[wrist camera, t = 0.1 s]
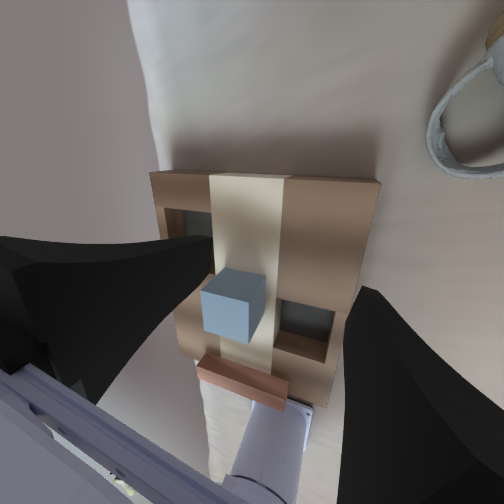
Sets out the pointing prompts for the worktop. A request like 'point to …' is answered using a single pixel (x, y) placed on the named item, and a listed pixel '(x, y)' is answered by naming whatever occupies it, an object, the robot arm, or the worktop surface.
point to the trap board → (272, 273)
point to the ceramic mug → (497, 58)
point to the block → (233, 304)
